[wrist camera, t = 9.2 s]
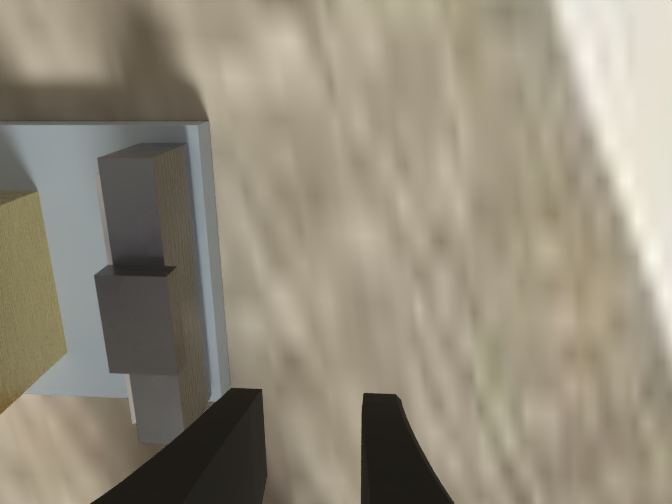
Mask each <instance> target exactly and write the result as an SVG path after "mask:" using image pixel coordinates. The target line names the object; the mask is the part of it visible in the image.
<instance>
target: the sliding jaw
mask: <svg viewBox="0 0 672 504" xmlns="http://www.w3.org/2000/svg"><path fill="white" fill-rule="evenodd" d="M97 161H98V168H99V173H97V174H95V181H96V188H97V194H98V201H99V207H100V214H101V221H102V227H103V234H104V240H105V247H106V254H107V260H108V265H107V266H105V267H104V268H103V269H101V270H100V271H99V272H97V273H96V274H95V275H94V279H95V286H96V292H97V298H98V304H99V310H100V317H101V323H102V329H103V335H104V341H105V348H106V354H107V360H108V366H109V373H115V374H125V379H126V386H127V393H128V399H129V406H130V413H131V419H132V424H137V431H138V438H139V443H147V444H169V443H170V442H172V441H173V440H174V439H175V438H176V437H177V436H179V435H180V434H181V433H182V432H183V431H184V430H185V429H187V428H188V427H189V426H190V425H191V424H192V423H193V422H194V421H195V420H196V419H198V418H199V417H200V416H201V415H202V413H203V411H204V409H205V407H206V405H207V403H208V401H209V399H210V397H211V395H212V393H211V382H210V371H209V361H208V350H207V339H206V329H205V318H204V308H203V297H202V286H201V276H200V265H199V255H198V244H197V233H196V223H195V212H194V202H193V191H192V180H191V170H190V159H189V149H188V143H139V144H136V145H133V146H130V147H127V148H124V149H121V150H118V151H115V152H113V153H110V154H107V155H104V156H101V157H98V158H97Z"/></svg>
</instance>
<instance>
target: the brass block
mask: <svg viewBox="0 0 672 504" xmlns="http://www.w3.org/2000/svg"><path fill="white" fill-rule="evenodd" d="M67 352H68V351H67V346H66V340H65V335H64V329H63V324H62V318H61V313H60V307H59V302H58V296H57V291H56V286H55V280H54V275H53V269H52V264H51V258H50V253H49V247H48V242H47V236H46V231H45V225H44V220H43V215H42V209H41V204H40V198H39V193H38V191H0V414H1V413H3V412H4V411H5V410H6V409H7V408H8V407H9V406H10V405H11V404H12V403H13V402H14V401H16V400H17V399H18V398H19V397H20V396H21V395H22V394H23V393H24V392H25V391H26V390H27V389H28V388H30V387H31V386H32V385H33V384H34V383H35V382H36V381H37V380H38V379H39V378H40V377H41V376H42V375H44V374H45V373H46V372H47V371H48V370H49V369H50V368H51V367H52V366H53V365H54V364H55V363H57V362H58V361H59V360H60V359H61V358H62V357H63V356H64V355H65V354H66V353H67Z"/></svg>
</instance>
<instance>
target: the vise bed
mask: <svg viewBox="0 0 672 504" xmlns="http://www.w3.org/2000/svg"><path fill="white" fill-rule="evenodd" d="M139 143H188V149H189V159H190V170H191V180H192V191H193V202H194V212H195V223H196V233H197V244H198V255H199V265H200V276H201V286H202V297H203V308H204V318H205V329H206V339H207V350H208V361H209V371H210V382H211V393H212V395H211V397H210V399H209V401H208V402H216V401H217V400H218V399H220V398H221V397H222V396H223V395H224V394H225V393H226V392H227V390H228V388H229V386H230V374H229V362H228V350H227V337H226V325H225V313H224V300H223V288H222V276H221V263H220V251H219V239H218V226H217V214H216V202H215V189H214V177H213V165H212V152H211V140H210V128H209V121H0V191H38V193H39V198H40V204H41V209H42V215H43V220H44V225H45V231H46V236H47V242H48V247H49V253H50V258H51V264H52V269H53V275H54V280H55V286H56V291H57V296H58V302H59V307H60V313H61V318H62V324H63V329H64V335H65V340H66V346H67V351H68V352H67V353H66V354H65V355H64V356H63V357H62V358H61V359H60V360H59V361H58V362H57V363H55V364H54V365H53V366H52V367H51V368H50V369H49V370H48V371H47V372H46V373H45V374H44V375H42V376H41V377H40V378H39V379H38V380H37V381H36V382H35V383H34V384H33V385H32V386H31V387H30V388H28V389H27V390H26V391H25V392H24V393H23V394H36V395H60V396H85V397H109V398H128V393H127V386H126V379H125V374H115V373H109V366H108V360H107V354H106V348H105V341H104V335H103V329H102V323H101V317H100V310H99V304H98V298H97V292H96V286H95V279H94V275H95V274H96V273H97V272H99V271H100V270H101V269H103V268H104V267H105V266H107V265H108V260H107V254H106V247H105V240H104V234H103V227H102V221H101V214H100V207H99V201H98V194H97V188H96V181H95V174H97V173H99V168H98V161H97V158H98V157H101V156H104V155H107V154H110V153H113V152H115V151H118V150H121V149H124V148H127V147H130V146H133V145H136V144H139Z"/></svg>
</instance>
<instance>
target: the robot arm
mask: <svg viewBox="0 0 672 504" xmlns="http://www.w3.org/2000/svg"><path fill="white" fill-rule="evenodd" d="M266 478H267V464H266V448H265V431H264V415H263V398H262V389H246V388H231V389H230V390H229V391H227V392H226V393H225V394H224V395H223V396H222V397H221V398H220V399H218V400H217V401H216V402H215V403H214V404H213V405H212V406H211V407H210V408H208V409H207V410H206V411H205V412H204V413H203V414H202V415H201V416H200V417H199V418H198V419H196V420H195V421H194V422H193V423H192V424H191V425H190V426H189V427H188V428H187V429H185V430H184V431H183V432H182V433H181V434H180V435H179V436H177V437H176V438H175V439H174V440H173V441H172V442H170V443H169V444H168V445H167V446H166V447H165V448H164V449H162V450H161V451H160V452H159V453H157V454H156V455H155V456H154V457H152V458H151V459H150V460H149V461H147V462H146V463H145V464H144V465H142V466H141V467H140V468H138V469H137V470H136V471H135V472H133V473H132V474H131V475H130V476H128V477H127V478H126V479H125V480H123V481H122V482H121V483H119V484H118V485H116V486H115V487H114V488H112V489H111V490H109V491H108V492H107V493H105V494H104V495H102V496H101V497H99V498H98V499H96V500H95V501H93V502H92V503H90V504H262V499H263V494H264V489H265V484H266ZM361 504H454V502H453V501H452V499H451V498H450V496H449V495H448V493H447V491H446V490H445V488H444V487H443V485H442V484H441V482H440V481H439V479H438V477H437V476H436V474H435V472H434V471H433V469H432V467H431V465H430V464H429V462H428V460H427V458H426V456H425V455H424V453H423V451H422V449H421V447H420V445H419V443H418V441H417V439H416V437H415V435H414V433H413V431H412V429H411V427H410V424H409V422H408V420H407V417H406V415H405V412H404V409H403V406H402V402H401V399H400V398H399V397H398V396H397V395H396V394H375V393H364V395H363V404H362V436H361Z"/></svg>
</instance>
